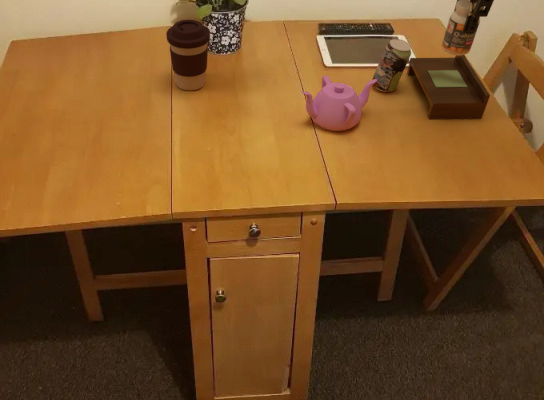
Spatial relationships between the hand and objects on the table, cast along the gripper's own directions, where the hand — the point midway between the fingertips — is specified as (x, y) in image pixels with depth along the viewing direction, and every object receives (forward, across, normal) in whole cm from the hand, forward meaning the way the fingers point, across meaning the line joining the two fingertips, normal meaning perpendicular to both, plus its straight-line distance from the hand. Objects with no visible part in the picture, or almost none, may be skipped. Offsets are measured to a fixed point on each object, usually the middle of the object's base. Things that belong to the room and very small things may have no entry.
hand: (463, 24), depth 117 cm
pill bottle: (+6, 0, 0) cm, 6 cm away
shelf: (+22, +8, -4) cm, 24 cm away
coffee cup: (+22, +15, +56) cm, 62 cm away
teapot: (+22, -1, +23) cm, 32 cm away
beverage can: (+22, +11, +8) cm, 26 cm away
